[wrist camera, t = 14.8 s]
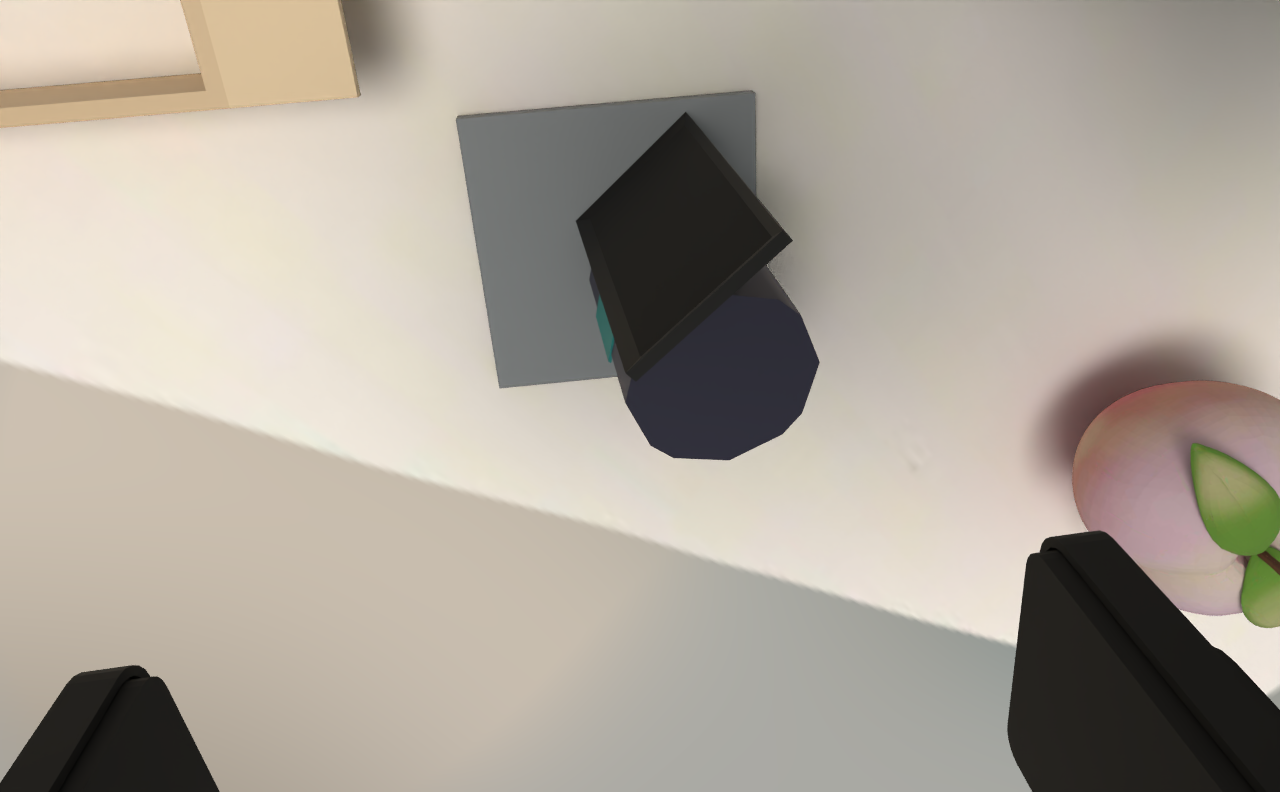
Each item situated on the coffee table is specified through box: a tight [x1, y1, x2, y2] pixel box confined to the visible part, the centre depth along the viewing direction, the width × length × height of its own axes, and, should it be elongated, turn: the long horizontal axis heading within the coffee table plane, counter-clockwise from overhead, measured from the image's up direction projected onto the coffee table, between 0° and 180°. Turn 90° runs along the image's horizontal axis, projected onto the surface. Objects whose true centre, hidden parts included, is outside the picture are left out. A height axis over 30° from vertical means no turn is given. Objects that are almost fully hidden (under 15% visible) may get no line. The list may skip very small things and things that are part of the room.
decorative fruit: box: [1072, 381, 1280, 628], centre depth 33 cm, size 9×8×10 cm
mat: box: [456, 91, 756, 388], centre depth 32 cm, size 10×10×1 cm
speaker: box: [576, 112, 819, 460], centre depth 27 cm, size 8×6×10 cm
